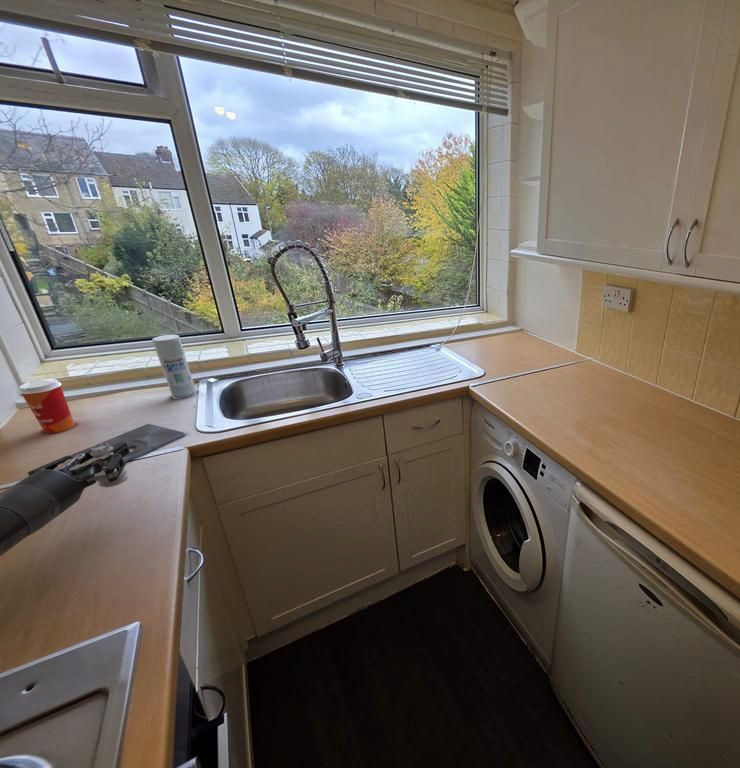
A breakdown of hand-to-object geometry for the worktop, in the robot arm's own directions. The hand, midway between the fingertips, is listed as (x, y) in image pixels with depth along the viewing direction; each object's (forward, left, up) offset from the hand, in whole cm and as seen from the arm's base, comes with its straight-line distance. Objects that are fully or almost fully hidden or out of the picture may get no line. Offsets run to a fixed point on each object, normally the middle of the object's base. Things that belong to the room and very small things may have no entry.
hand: (115, 447), depth 80 cm
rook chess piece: (-3, -1, -6) cm, 7 cm away
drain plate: (+12, +24, -13) cm, 30 cm away
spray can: (+39, +43, -13) cm, 60 cm away
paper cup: (+12, +52, -13) cm, 55 cm away
